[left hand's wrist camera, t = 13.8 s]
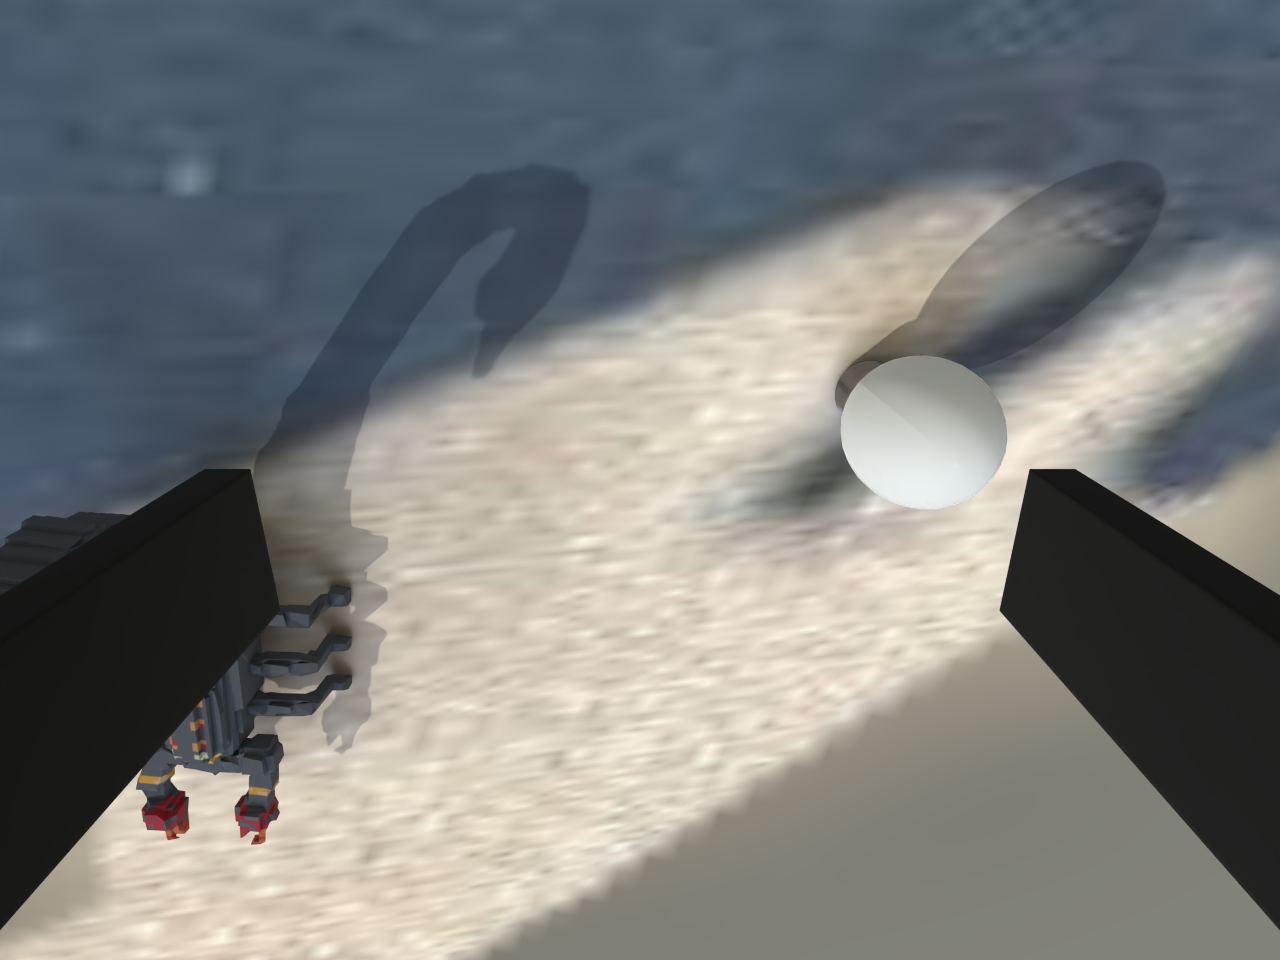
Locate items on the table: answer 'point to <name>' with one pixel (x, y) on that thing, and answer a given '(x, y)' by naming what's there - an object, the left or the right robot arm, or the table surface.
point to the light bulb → (920, 430)
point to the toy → (227, 709)
